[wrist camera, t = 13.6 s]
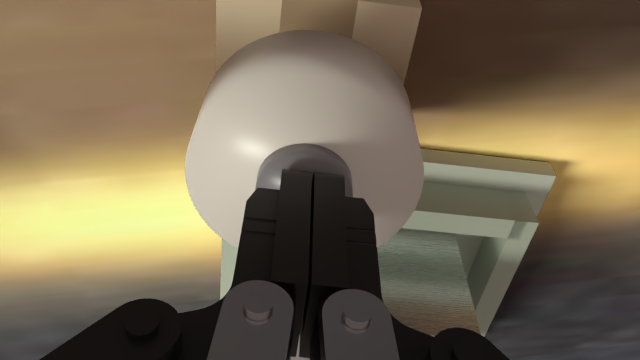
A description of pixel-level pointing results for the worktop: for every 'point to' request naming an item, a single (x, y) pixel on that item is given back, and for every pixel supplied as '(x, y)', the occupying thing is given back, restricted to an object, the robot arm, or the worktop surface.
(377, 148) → the wheel
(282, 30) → the axle mount
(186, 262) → the worktop surface
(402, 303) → the grey boxy piece
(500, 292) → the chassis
